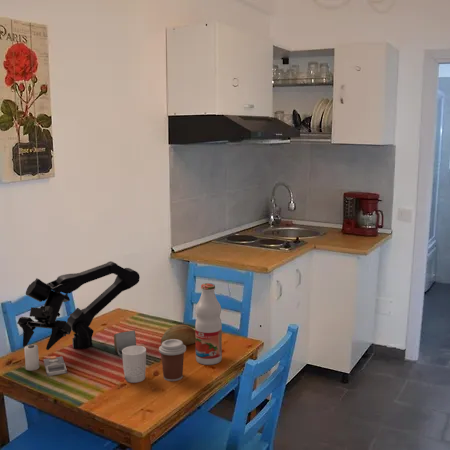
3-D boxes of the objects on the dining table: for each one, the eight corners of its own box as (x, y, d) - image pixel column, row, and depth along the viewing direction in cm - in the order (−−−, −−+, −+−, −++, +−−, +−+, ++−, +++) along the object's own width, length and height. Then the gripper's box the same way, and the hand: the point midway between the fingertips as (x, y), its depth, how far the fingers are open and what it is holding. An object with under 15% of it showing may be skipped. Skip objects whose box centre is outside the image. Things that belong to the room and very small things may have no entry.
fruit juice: (227, 359, 196) (226, 284, 191) (210, 367, 188) (209, 290, 184) (207, 352, 201) (206, 279, 197) (190, 361, 194) (189, 285, 190)
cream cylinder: (39, 368, 189) (37, 343, 187) (40, 373, 185) (38, 347, 183) (25, 370, 187) (23, 345, 186) (26, 375, 183) (24, 349, 182)
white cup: (127, 385, 175) (126, 356, 174) (120, 376, 182) (118, 348, 181) (150, 380, 179) (149, 351, 177) (142, 371, 186) (141, 343, 184)
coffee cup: (175, 385, 175) (175, 350, 173) (153, 378, 180) (152, 344, 178) (192, 374, 183) (191, 341, 181) (170, 368, 188) (169, 336, 186)
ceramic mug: (114, 348, 206) (113, 329, 205) (136, 346, 208) (135, 327, 206) (115, 360, 196) (114, 340, 194) (137, 357, 198) (137, 338, 196)
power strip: (43, 363, 193) (43, 356, 192) (62, 360, 195) (62, 353, 195) (47, 380, 179) (47, 373, 179) (67, 377, 182) (67, 370, 181)
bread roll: (203, 346, 208) (203, 326, 206) (166, 353, 201) (166, 333, 200) (193, 338, 216) (192, 319, 215) (157, 344, 210) (157, 325, 208)
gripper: (18, 294, 191) (0, 335, 182) (65, 298, 186) (48, 341, 177) (33, 309, 200) (16, 349, 191) (78, 313, 195) (63, 354, 186)
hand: (35, 348), depth 186 cm, fingers open, 9 cm apart
